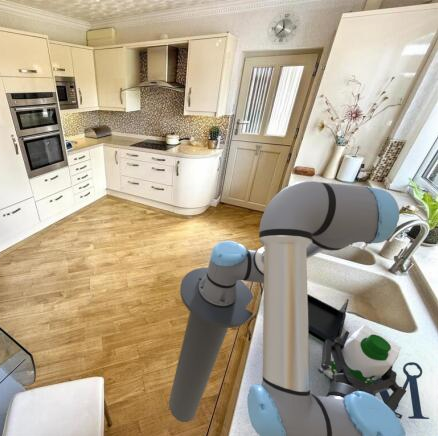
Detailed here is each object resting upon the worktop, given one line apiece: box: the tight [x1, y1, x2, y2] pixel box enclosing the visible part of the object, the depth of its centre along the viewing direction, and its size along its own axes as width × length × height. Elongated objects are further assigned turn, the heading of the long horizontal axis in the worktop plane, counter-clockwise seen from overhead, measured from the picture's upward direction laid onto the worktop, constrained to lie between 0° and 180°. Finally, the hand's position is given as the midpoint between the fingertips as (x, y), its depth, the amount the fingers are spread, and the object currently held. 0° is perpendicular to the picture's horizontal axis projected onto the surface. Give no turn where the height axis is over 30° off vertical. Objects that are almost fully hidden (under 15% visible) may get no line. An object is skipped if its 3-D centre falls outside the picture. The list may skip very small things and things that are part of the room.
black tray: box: [307, 293, 349, 345], centre depth 84 cm, size 18×16×11 cm
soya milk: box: [324, 323, 402, 386], centre depth 62 cm, size 9×9×20 cm
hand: (366, 347), depth 64 cm, fingers closed on soya milk, 9 cm apart
